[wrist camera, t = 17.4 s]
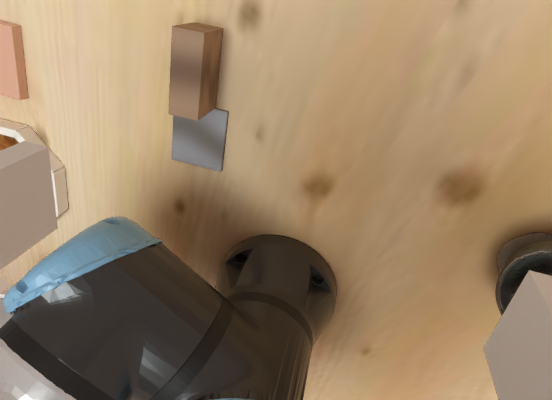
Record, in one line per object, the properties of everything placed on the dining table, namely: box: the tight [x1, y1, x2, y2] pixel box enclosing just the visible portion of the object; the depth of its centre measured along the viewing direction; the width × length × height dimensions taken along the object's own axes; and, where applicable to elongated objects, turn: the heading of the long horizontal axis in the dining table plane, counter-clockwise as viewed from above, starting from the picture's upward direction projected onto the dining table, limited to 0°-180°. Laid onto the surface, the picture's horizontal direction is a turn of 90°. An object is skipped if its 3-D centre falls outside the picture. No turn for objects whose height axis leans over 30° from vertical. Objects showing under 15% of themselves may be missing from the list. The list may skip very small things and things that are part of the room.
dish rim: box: [0, 119, 69, 218], centre depth 53 cm, size 15×15×2 cm
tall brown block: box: [169, 23, 229, 172], centre depth 41 cm, size 15×6×5 cm, turn 170°
